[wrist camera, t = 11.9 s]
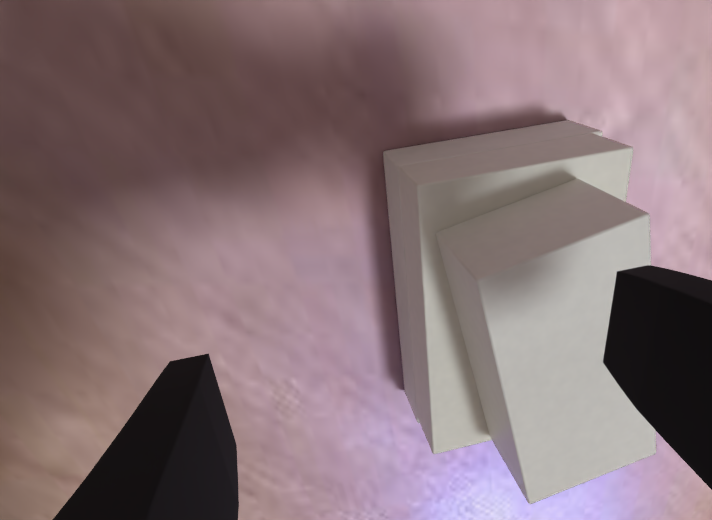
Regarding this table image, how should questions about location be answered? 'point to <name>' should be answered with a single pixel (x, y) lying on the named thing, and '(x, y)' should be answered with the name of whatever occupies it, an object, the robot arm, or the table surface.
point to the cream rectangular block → (549, 331)
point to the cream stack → (451, 207)
